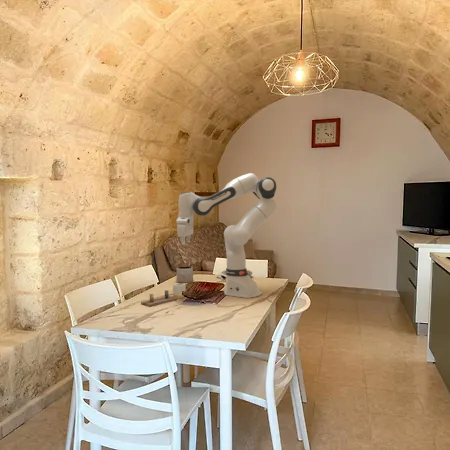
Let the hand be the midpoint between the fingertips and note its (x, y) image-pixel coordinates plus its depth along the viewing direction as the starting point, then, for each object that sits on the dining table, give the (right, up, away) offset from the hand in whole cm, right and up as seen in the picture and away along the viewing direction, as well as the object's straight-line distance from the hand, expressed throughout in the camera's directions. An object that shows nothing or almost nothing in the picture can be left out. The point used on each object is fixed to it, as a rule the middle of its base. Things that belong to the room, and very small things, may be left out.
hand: (185, 243), depth 235 cm
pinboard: (-12, -31, -19) cm, 38 cm away
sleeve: (-3, -30, -9) cm, 31 cm away
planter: (-4, -27, +32) cm, 42 cm away
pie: (+31, -26, +43) cm, 59 cm away
